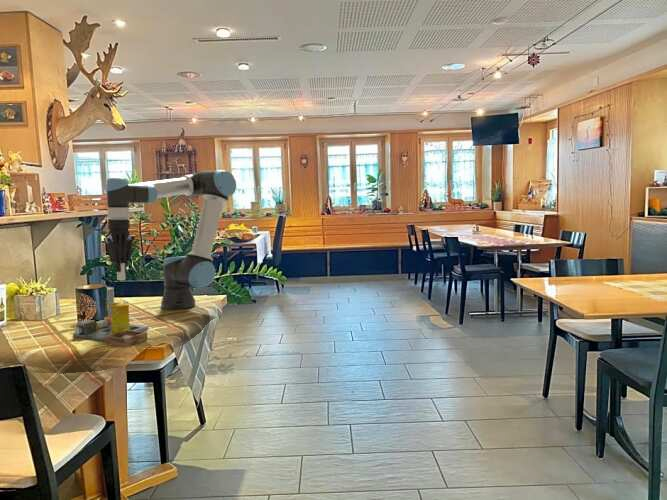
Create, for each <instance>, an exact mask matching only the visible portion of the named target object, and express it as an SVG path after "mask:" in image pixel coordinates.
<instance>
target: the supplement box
mask: <svg viewBox="0 0 667 500" xmlns="http://www.w3.org/2000/svg"><path fill="white" fill-rule="evenodd" d="M129 307H130V306H129V302H128V301H122V302H121V301H120V302H114V303H111V314H112V329H113V331H112V333H118V332H121V331H124V330H131V329H130V324H131V323H130V309H129Z"/></svg>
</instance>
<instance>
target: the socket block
mask: <svg viewBox="0 0 667 500" xmlns="http://www.w3.org/2000/svg"><path fill="white" fill-rule="evenodd" d="M96 322H97V321H95V320H91V319H86V320H82V321H79V322H78V321H77V322H76V327H79V326H83V330H84V332H83V333H80V334H77V333H75V332H73V333H72V336H73V337H74V338H79V337H80V338H81V339H85V338H86V339H87V340H91V339H93V341H98V340H100V341H99V342H104V341H105V336H108V335H111V334H114V333H113V329H112V325H111V326H104V327H101V328H97V325H96ZM130 330H133V331H140V332H146V331H148V330H149V326H146V325H138V324H133V323H132V324H131V323H130ZM86 339H85V340H86Z"/></svg>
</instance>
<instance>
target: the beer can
mask: <svg viewBox="0 0 667 500" xmlns="http://www.w3.org/2000/svg"><path fill="white" fill-rule="evenodd" d="M106 287H107V296H108V297H107V305H108V315H109V317H111V318H112V314H111V303H115V292H114V289H115V288H114V287H112V286H106Z"/></svg>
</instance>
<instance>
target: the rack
mask: <svg viewBox="0 0 667 500" xmlns="http://www.w3.org/2000/svg"><path fill="white" fill-rule="evenodd" d="M147 340H148V332H146V331H142V332H140V331H133V329H130V330H124V331H121V332H118V333H114V334H111V335H108V336H105V342H104V343H105V345H110V344H111V345H110V346H116V345H118V346H117V347H122V346H124V347H123V348H128V347H130V345H131V346H133V345H136V344H139V343H142V342H145V341H147ZM127 346H128V347H127Z"/></svg>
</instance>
